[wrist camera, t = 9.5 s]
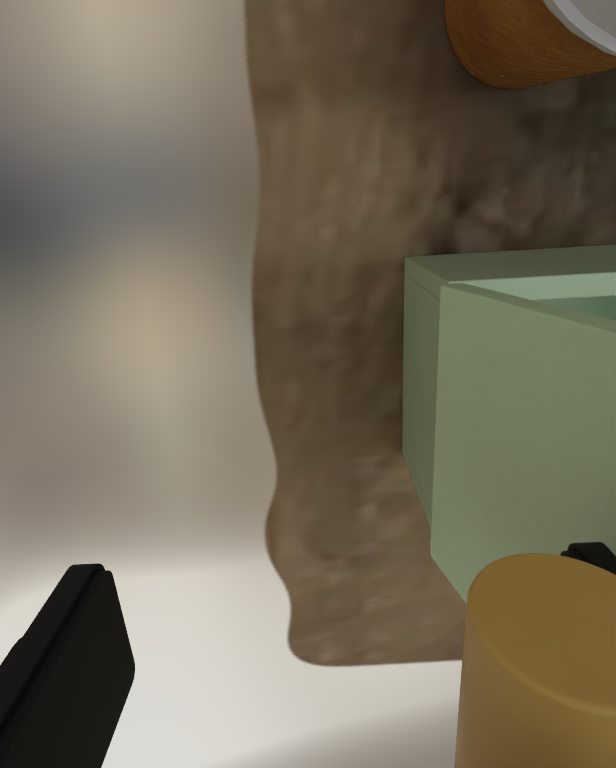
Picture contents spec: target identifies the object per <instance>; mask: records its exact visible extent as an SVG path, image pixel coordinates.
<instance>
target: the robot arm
mask: <svg viewBox="0 0 616 768" xmlns="http://www.w3.org/2000/svg"><path fill="white" fill-rule="evenodd" d="M560 556H565V557H569V558H573V559H577V560H580V561H583V562H587V563H589V564H592V565H595V566H597V567H600V568H602V569H604V570H606V571H608V572H611V573H613V574H614V575H616V556H615V555H614V554H613V553H612V551H611V550H610V549H609V548H608V547H607V546H606V545H605V544H604V543H602V542H584V543H571V544H570V545H569V546H568V549H567V551H562V552H561V554H560ZM134 673H135V663H134V658H133V654H132V650H131V646H130V642H129V639H128V634H127V630H126V626H125V623H124V618H123V614H122V610H121V606H120V602H119V599H118V594H117V590H116V586H115V582H114V578H113V575H112V573H111V571H105V569H104V567H103V566H102V565H101V564H80V565H72V566H70V567H69V569H68V570H67V571H66V572H65V574H64V575H63V577H62V579H61V580H60V582H59V583H58V585H57V586H56V588H55V589H54V591H53V592H52V594H51V595H50V597H49V598H48V600H47V601H46V603H45V604H44V606H43V607H42V609H41V610H40V612H39V613H38V615H37V616H36V618H35V619H34V621H33V622H32V624H31V625H30V627H29V628H28V630H27V631H26V633H25V634H24V636H23V637H22V638H20V639H19V640H18V641H17V643H16V644H15V645H14V646H13V647H12V649H11V650H10V652H9V653H8V655H7V656H6V658H5V659H4V661H3V662H2V664H1V665H0V768H101V766H102V764H103V761H104V758H105V756H106V753H107V750H108V748H109V745H110V742H111V740H112V737H113V734H114V731H115V729H116V726H117V723H118V721H119V718H120V715H121V713H122V710H123V707H124V705H125V702H126V699H127V697H128V694H129V691H130V688H131V686H132V683H133V680H134Z"/></svg>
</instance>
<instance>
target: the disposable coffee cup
mask: <svg viewBox="0 0 616 768" xmlns="http://www.w3.org/2000/svg"><path fill="white" fill-rule="evenodd" d="M445 19H446V26H447V32H448V36H449V39H450V42H451V45H452V47H453V50H454V52H455V54H456V56H457V57H458V59H459V61H460V62H461V63H462V65H463V66H464V67H465V68H466V69H467V70H468V72H469V73H471V74H472V75H473V76H475V77H476V78H477V79H479V80H480V81H482V82H484V83H486V84H489V85H491V86H493V87H498V88H504V89H520V88H526V87H529V86H533V85H538V84H543V83H548V82H553V81H557V80H563V79H568V78H573V77H577V76H581V75H586V74H590V73H596V72H601V71H605V70H609V69H613V68H616V0H445Z"/></svg>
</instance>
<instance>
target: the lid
mask: <svg viewBox="0 0 616 768" xmlns="http://www.w3.org/2000/svg"><path fill="white" fill-rule="evenodd" d="M584 542H602V543H604V544H605V545H606V546H607V547H608V548H609V549H610V550H611V551H612V553H613V554H614V555H615V556H616V321H615V320H611V319H607V318H603V317H599V316H595V315H591V314H586V313H582V312H578V311H574V310H570V309H566V308H562V307H558V306H554V305H550V304H546V303H542V302H538V301H534V300H530V299H526V298H521V297H517V296H513V295H509V294H505V293H501V292H497V291H493V290H489V289H485V288H481V287H477V286H473V285H469V284H465V283H456V284H446V285H441V291H440V317H439V343H438V369H437V395H436V421H435V447H434V472H433V498H432V524H431V550H430V555H431V557H432V558H433V560H434V561H435V562H436V564H437V565H438V566H439V568H440V569H441V570H442V572H443V573H444V574H445V576H446V577H447V579H448V580H449V581H450V583H451V584H452V585H453V587H454V588H455V589H456V591H457V592H458V593H459V595H460V596H461V597H462V599H463V600H464V601H465V603H466V604H467V605H466V618H465V632H464V645H463V659H462V672H461V686H460V700H459V713H458V726H457V739H456V753H455V767H454V768H616V575H614V574H613V573H611V572H608V571H606V570H604V569H602V568H600V567H597V566H595V565H592V564H589V563H587V562H583V561H580V560H577V559H573V558H569V557H565V556H560V554H561V552H562V551H567V549H568V546H569V545H570V544H571V543H584Z"/></svg>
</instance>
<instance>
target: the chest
mask: <svg viewBox="0 0 616 768" xmlns="http://www.w3.org/2000/svg"><path fill="white" fill-rule="evenodd" d="M456 283H465V284H469V285H473V286H477V287H481V288H485V289H489V290H493V291H497V292H501V293H505V294H509V295H513V296H517V297H521V298H526V299H530V300H534V301H538V302H542V303H546V304H550V305H554V306H558V307H562V308H566V309H570V310H574V311H578V312H582V313H586V314H591V315H595V316H599V317H603V318H607V319H611V320H615V321H616V245H599V246H583V247H566V248H549V249H532V250H515V251H498V252H481V253H464V254H447V255H430V256H413V257H405V258H404V338H403V421H402V453H403V456H404V458H405V461H406V463H407V466H408V469H409V472H410V474H411V477H412V480H413V482H414V485H415V488H416V491H417V493H418V496H419V499H420V501H421V504H422V507H423V510H424V512H425V515H426V518H427V520H428V523H429V526H430V529H431V524H432V498H433V472H434V447H435V421H436V395H437V369H438V343H439V317H440V291H441V285H446V284H456Z"/></svg>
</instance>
